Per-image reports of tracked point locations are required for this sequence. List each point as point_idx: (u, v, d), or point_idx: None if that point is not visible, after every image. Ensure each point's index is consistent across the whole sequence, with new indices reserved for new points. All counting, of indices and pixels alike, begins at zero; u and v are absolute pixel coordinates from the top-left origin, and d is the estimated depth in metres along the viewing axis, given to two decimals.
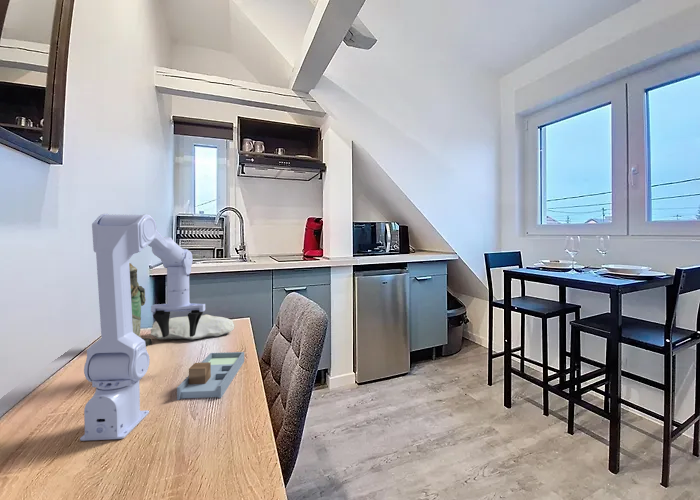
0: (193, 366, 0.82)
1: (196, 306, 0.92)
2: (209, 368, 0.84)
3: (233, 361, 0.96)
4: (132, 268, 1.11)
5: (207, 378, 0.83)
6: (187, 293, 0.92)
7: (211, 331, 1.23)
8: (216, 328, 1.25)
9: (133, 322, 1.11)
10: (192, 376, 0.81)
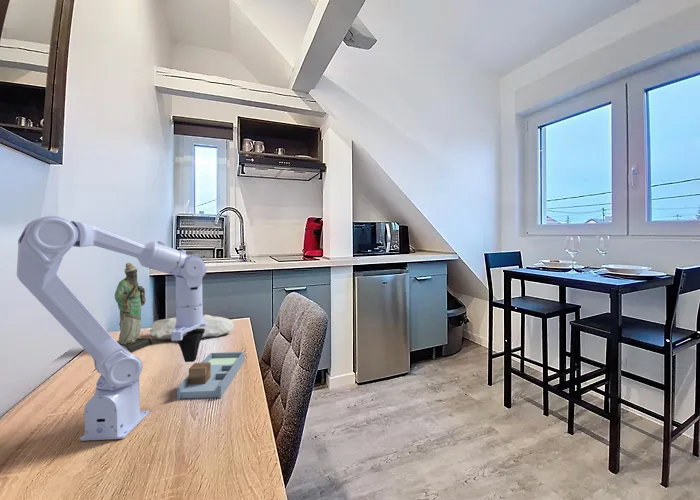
0: (193, 366, 0.82)
1: None
2: (209, 368, 0.84)
3: (233, 361, 0.96)
4: (132, 268, 1.11)
5: (207, 378, 0.83)
6: (182, 311, 0.73)
7: (211, 331, 1.23)
8: (216, 328, 1.25)
9: (133, 322, 1.11)
10: (192, 376, 0.81)
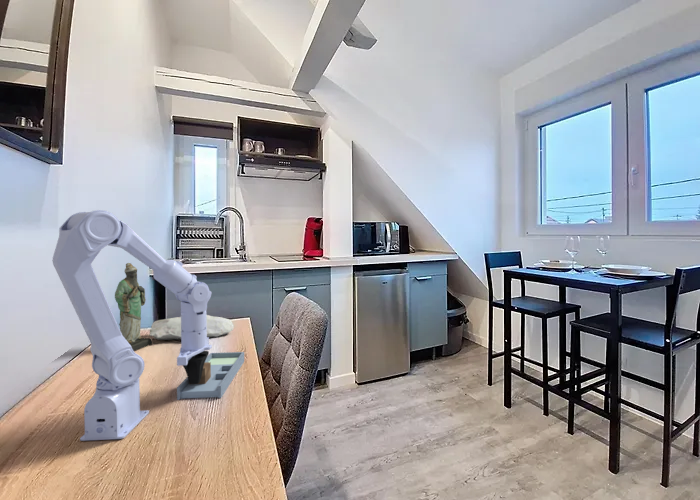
0: None
1: (179, 355, 0.73)
2: (209, 368, 0.84)
3: (233, 361, 0.96)
4: (132, 268, 1.11)
5: (207, 378, 0.83)
6: (187, 336, 0.76)
7: (210, 331, 1.23)
8: (216, 328, 1.24)
9: (133, 322, 1.11)
10: None
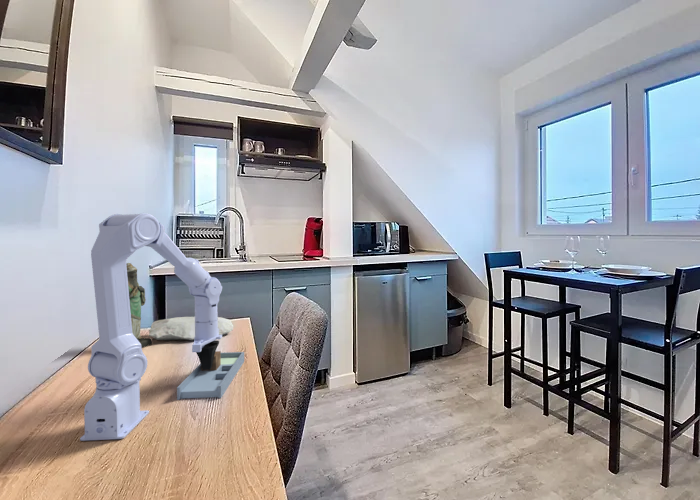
0: None
1: None
2: (219, 356, 0.92)
3: (233, 361, 0.96)
4: (132, 268, 1.11)
5: (217, 365, 0.91)
6: (200, 326, 0.84)
7: None
8: None
9: (133, 322, 1.11)
10: None
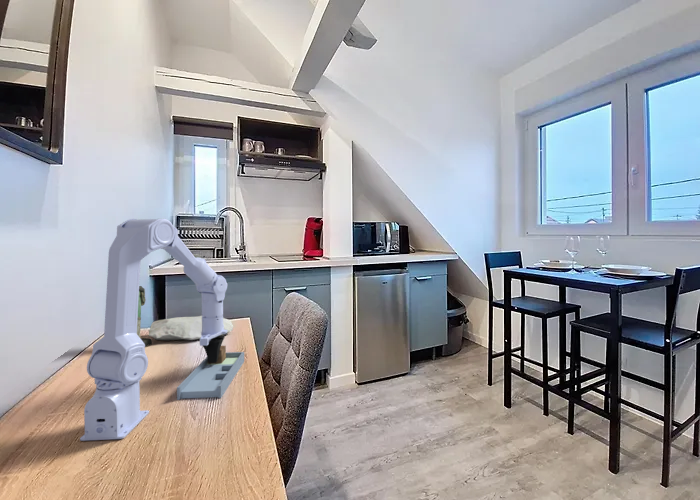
0: None
1: (201, 337, 0.87)
2: (224, 350, 0.97)
3: (233, 361, 0.96)
4: None
5: (223, 359, 0.96)
6: (207, 321, 0.89)
7: None
8: None
9: None
10: None
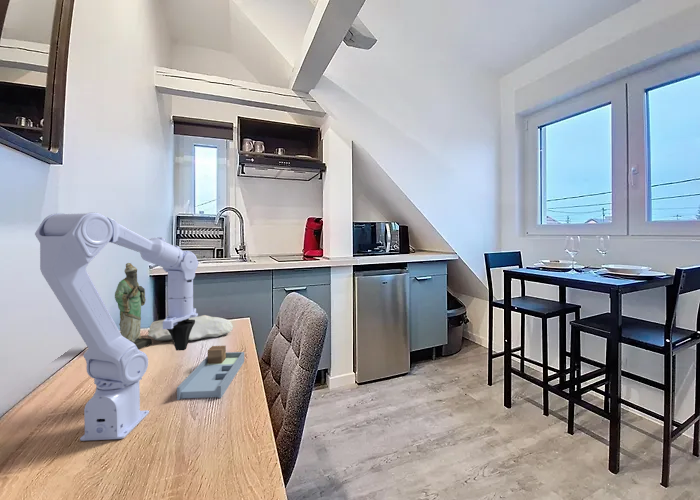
0: (211, 348, 0.95)
1: None
2: (224, 350, 0.97)
3: (233, 361, 0.96)
4: (132, 268, 1.11)
5: (223, 359, 0.96)
6: (173, 303, 0.79)
7: (210, 332, 1.22)
8: (215, 329, 1.24)
9: (133, 322, 1.11)
10: (210, 357, 0.94)
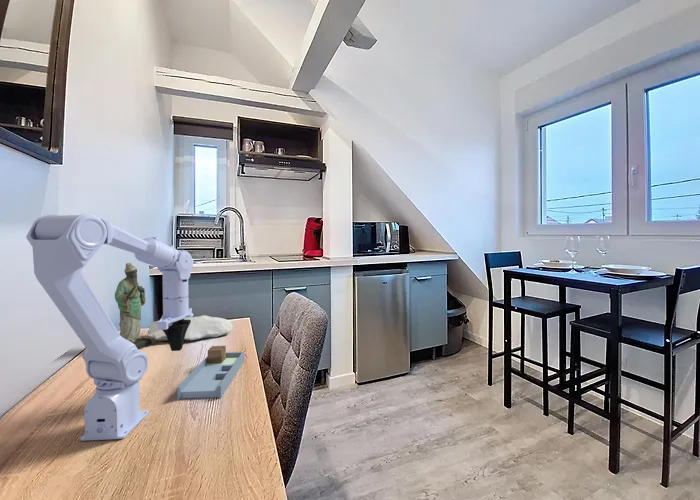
0: (211, 348, 0.95)
1: (160, 321, 0.75)
2: (224, 350, 0.97)
3: (233, 361, 0.96)
4: (132, 268, 1.11)
5: (223, 359, 0.96)
6: (168, 303, 0.78)
7: (210, 332, 1.22)
8: (215, 329, 1.24)
9: (133, 322, 1.11)
10: (210, 357, 0.94)
